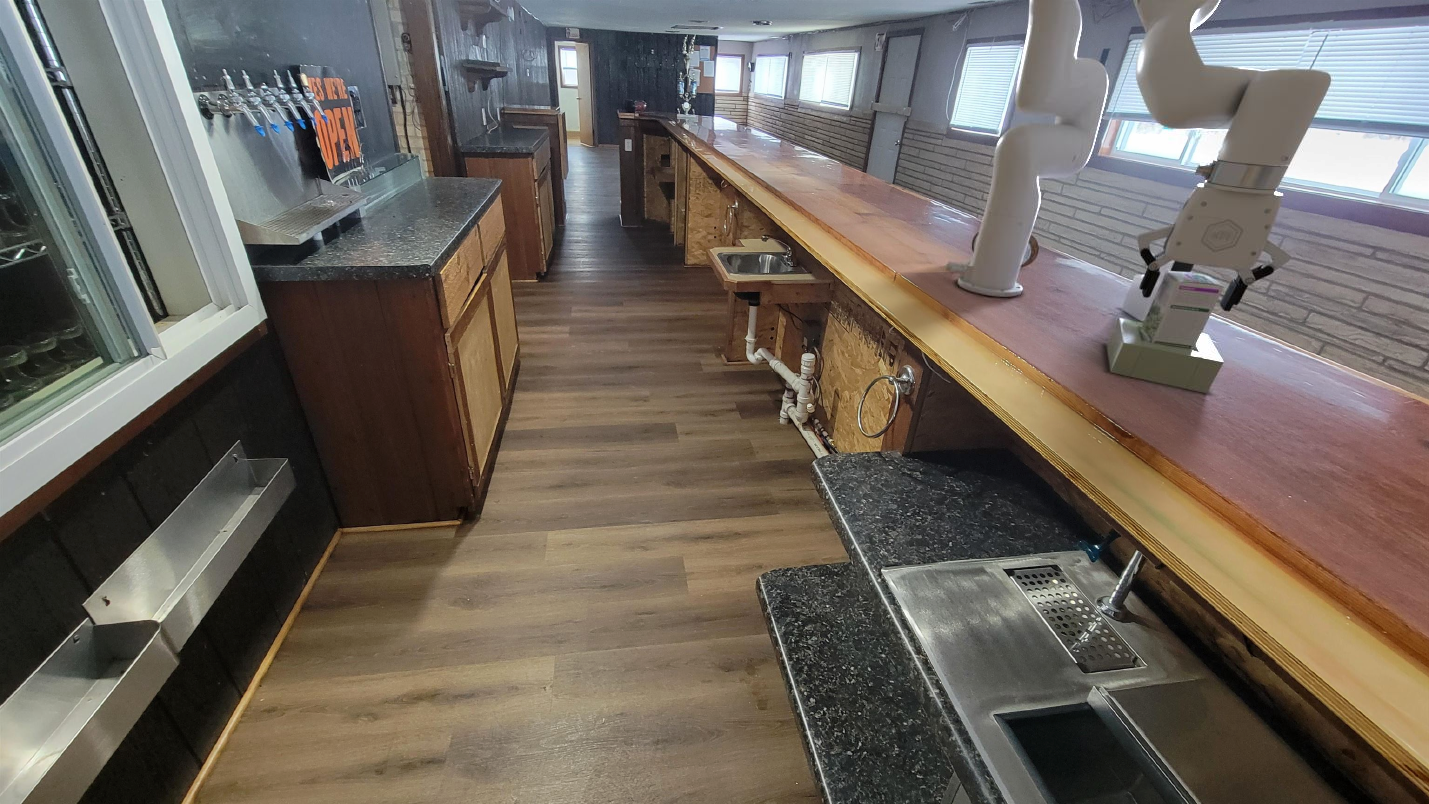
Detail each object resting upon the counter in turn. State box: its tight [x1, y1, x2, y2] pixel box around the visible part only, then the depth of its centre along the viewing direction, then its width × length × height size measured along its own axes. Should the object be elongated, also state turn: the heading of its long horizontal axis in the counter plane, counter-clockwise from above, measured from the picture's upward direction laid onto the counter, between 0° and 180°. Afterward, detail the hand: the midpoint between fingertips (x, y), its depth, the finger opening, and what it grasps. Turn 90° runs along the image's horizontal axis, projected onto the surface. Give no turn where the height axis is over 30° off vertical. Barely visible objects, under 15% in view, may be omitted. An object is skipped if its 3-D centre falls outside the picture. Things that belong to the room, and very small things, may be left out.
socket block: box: [1106, 317, 1225, 394], centre depth 87 cm, size 12×12×5 cm
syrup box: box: [1139, 271, 1224, 351], centre depth 84 cm, size 6×6×14 cm
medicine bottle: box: [1120, 260, 1195, 323], centre depth 106 cm, size 7×7×12 cm
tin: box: [971, 231, 1040, 269], centre depth 135 cm, size 15×3×8 cm, turn 43°
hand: (1183, 301), depth 83 cm, fingers open, 9 cm apart
